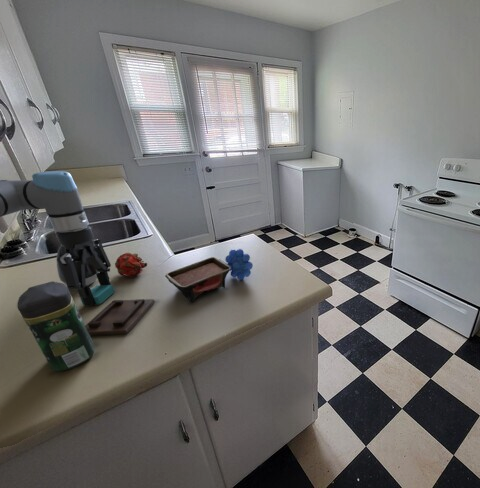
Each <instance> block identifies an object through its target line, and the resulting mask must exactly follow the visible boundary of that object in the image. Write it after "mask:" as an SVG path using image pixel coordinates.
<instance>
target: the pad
mask: <svg viewBox="0 0 480 488" xmlns="http://www.w3.org/2000/svg"><path fill="white" fill-rule="evenodd" d="M90 289H91V292H92V294H93V297H94V300H95V302H96V304H95V305H94V306H96V305H101V304H102V303H104V302H105V301H106V300H107V299H108V298H109V297H111V296H112V295H113V294H114V293H116V290H115V288H114V284H111V285H100V284H99V285H98V284H97V285H95V286H93V287H92V288H90ZM79 299H80V301H81V305H83V306H85V305H84V302H83V300H82V298H80V297H79Z"/></svg>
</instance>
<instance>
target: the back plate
mask: <svg viewBox="0 0 480 488" xmlns="http://www.w3.org/2000/svg"><path fill="white" fill-rule="evenodd" d="M154 303H155V299H154V298H147V299H146V298H145V299H144V298H139V299H137V298H136V299H115V300H112V301H111V302H109V304H107V305H106V306H105V307H103V309H102V310H101V311H100V312H98V314H97V315H95V316H94V317H93V318H92V319H91V320H90V321H88V322H87V323H86V324H84V325H85V327H86V329H87V331H88V333H89V335H90V336H104V335H105V336H107V335H128V334H129V333H130V331H131V330H132V329H133V328H134V327H135V326H136V324H138V322H139V321H140V320H141V319H142V318H143V316H145V314H146V313H147V312H148V311H149V310H150V308H151V307H152V306H153V305H154Z"/></svg>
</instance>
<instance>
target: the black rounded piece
mask: <svg viewBox="0 0 480 488" xmlns="http://www.w3.org/2000/svg"><path fill="white" fill-rule="evenodd" d="M64 255H65V247H64V246H62V245H61V244H60V246H59V248H58V250H57V253H56V259H57V258H58V257H62V256H64ZM56 271H57V275H58V278H59V280H60V282H61V283H62V284H65V285H66V286H67V284H66V281H65V277H64V274H63V271H62V268H61V265H60V263H59V262H58V261H57V260H56ZM97 273H99V272H98V271H97V270H96V269H95V268H94V267H93V265H92V264H91V263H90V262H89V261H88V260H87V259H86V264H85V279H86V285H89V286H90V285H91V284H93V283H95V282H96V281H97V280H98V278H97V275H96V274H97Z"/></svg>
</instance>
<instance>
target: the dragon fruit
mask: <svg viewBox="0 0 480 488" xmlns="http://www.w3.org/2000/svg"><path fill="white" fill-rule="evenodd" d="M114 266H115V268H116V269H117V273H118V274H119V275H120V276H123V275H125V276H127V277H128V278H134V277H136V274H142V272H143V269H144V268H146V267H147V266H148V262H145V261H144V260H143V259H142V257H139V254H138V253H131V252H125V253H123V254H120V255H119V256H118V257H117V259H116V261H115V263H114Z"/></svg>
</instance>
